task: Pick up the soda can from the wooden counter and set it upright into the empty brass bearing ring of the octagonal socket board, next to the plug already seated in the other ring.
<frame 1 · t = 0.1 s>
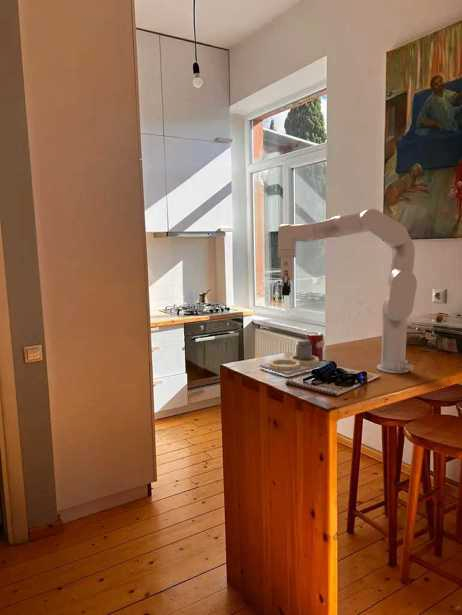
hand: (286, 294, 196), 31 cm above the table, tool pointing down, fingers open, 9 cm apart
seated plug: (303, 365, 199), resting on octagonal socket board
octagonal socket board: (294, 368, 195), on the table
soda can: (314, 360, 209), on the table
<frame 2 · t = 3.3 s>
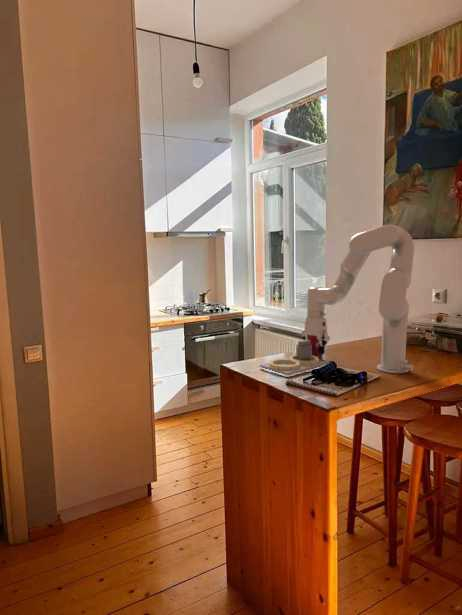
hand: (314, 352, 209), 3 cm above the table, tool pointing down, fingers closed on soda can, 7 cm apart
soda can: (314, 360, 209), on the table, touching gripper
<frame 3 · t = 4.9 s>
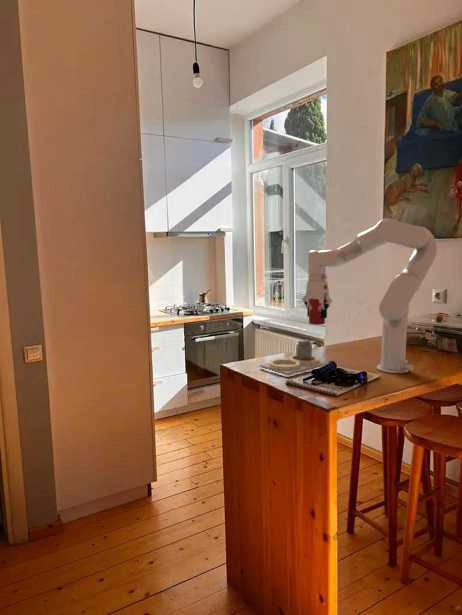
hand: (317, 316, 206), 20 cm above the table, tool pointing down, fingers closed on soda can, 7 cm apart
soda can: (317, 324, 207), point 16 cm above the table, touching gripper
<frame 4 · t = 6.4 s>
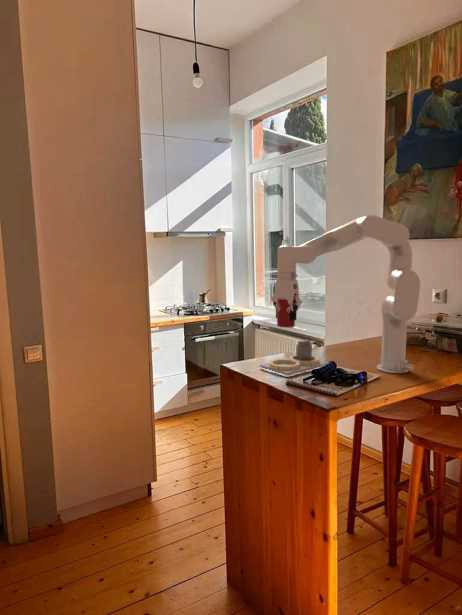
hand: (286, 318, 188), 22 cm above the table, tool pointing down, fingers closed on soda can, 7 cm apart
soda can: (285, 327, 189), point 18 cm above the table, touching gripper
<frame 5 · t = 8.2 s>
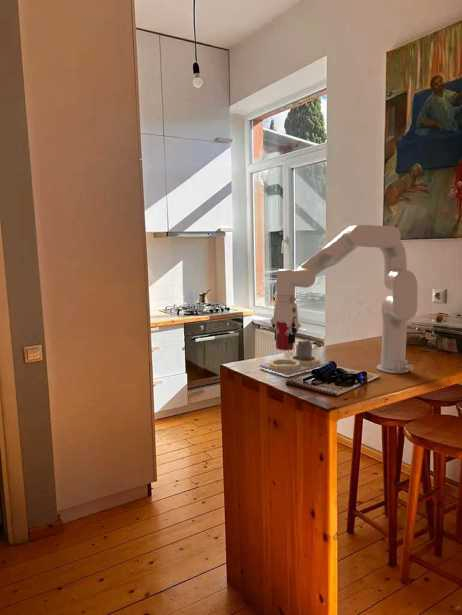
hand: (284, 341, 189), 12 cm above the table, tool pointing down, fingers closed on soda can, 7 cm apart
soda can: (284, 349, 190), point 9 cm above the table, touching gripper
when the fingers open (7 cm above the table, at t = 9.8 s): soda can drops 2 cm, resting on octagonal socket board.
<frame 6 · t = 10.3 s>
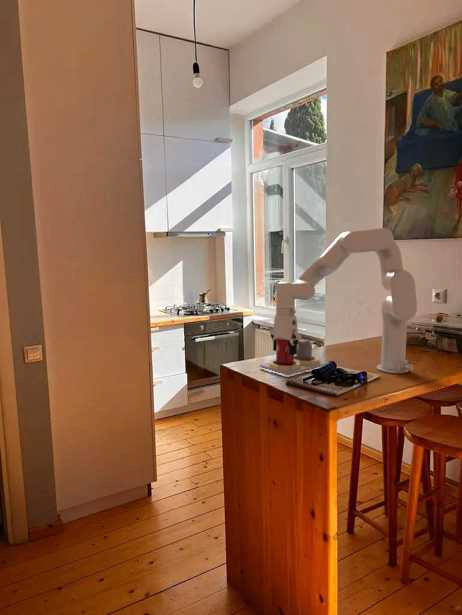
hand: (284, 352, 190), 8 cm above the table, tool pointing down, fingers open, 9 cm apart
soda can: (284, 366, 191), point 2 cm above the table, touching octagonal socket board
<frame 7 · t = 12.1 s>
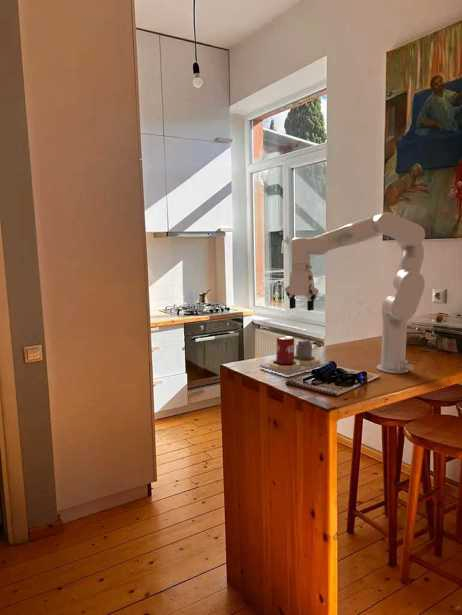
hand: (301, 309, 190), 26 cm above the table, tool pointing down, fingers open, 9 cm apart
nothing on the table moved.
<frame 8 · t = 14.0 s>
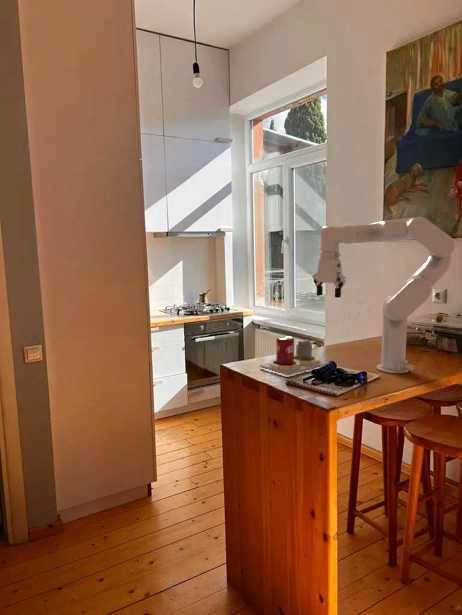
hand: (328, 296, 195), 30 cm above the table, tool pointing down, fingers open, 9 cm apart
nothing on the table moved.
at the end: soda can 0.2 cm from the target spot on the octagonal socket board, point 1.8 cm above the octagonal socket board's base; soda can tilted 0°; the gripper is holding nothing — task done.
